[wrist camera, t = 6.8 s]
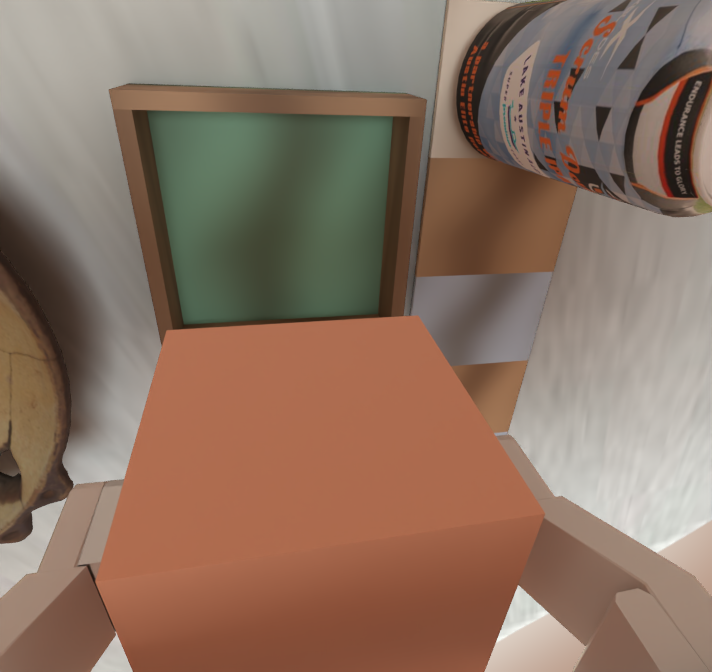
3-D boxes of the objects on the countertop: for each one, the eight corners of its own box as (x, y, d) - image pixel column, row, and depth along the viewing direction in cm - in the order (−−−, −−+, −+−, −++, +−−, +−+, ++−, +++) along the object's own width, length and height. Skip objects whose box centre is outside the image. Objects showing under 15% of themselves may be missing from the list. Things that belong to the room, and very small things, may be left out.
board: (622, 11, 20) (627, 11, 20) (489, 487, 36) (491, 490, 35) (446, -2, 19) (449, -2, 18) (388, 500, 34) (389, 503, 34)
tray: (405, 93, 20) (426, 99, 18) (385, 318, 26) (399, 347, 24) (128, 83, 18) (108, 89, 16) (174, 330, 24) (165, 363, 21)
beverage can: (438, 19, 19) (641, -15, 9) (603, -16, 20) (967, -84, 10) (448, 173, 23) (604, 270, 13) (589, 140, 23) (847, 208, 13)
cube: (418, 315, 10) (545, 513, 6) (396, 480, 12) (472, 700, 8) (166, 330, 9) (95, 581, 5) (200, 505, 11) (173, 768, 7)
